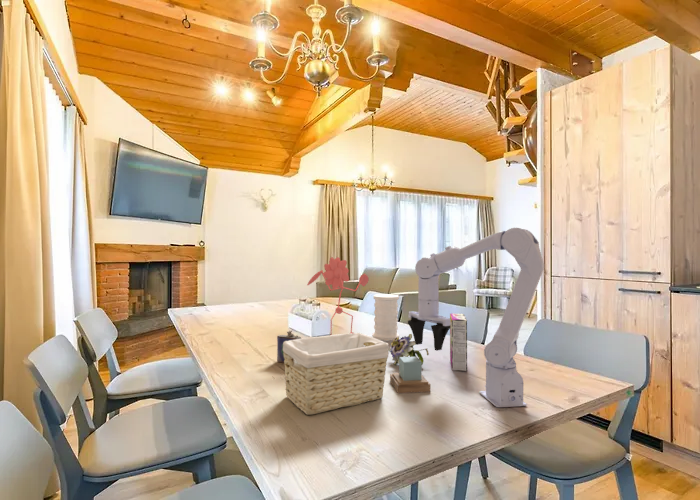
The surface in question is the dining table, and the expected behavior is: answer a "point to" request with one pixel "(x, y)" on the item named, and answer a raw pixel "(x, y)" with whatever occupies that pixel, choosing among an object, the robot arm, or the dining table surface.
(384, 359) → the storage basket
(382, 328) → the decorative container
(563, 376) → the dining table surface
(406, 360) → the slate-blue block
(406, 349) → the passion flower
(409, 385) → the square coaster
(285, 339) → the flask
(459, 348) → the candy bar box
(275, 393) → the dining table surface
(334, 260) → the figurine
